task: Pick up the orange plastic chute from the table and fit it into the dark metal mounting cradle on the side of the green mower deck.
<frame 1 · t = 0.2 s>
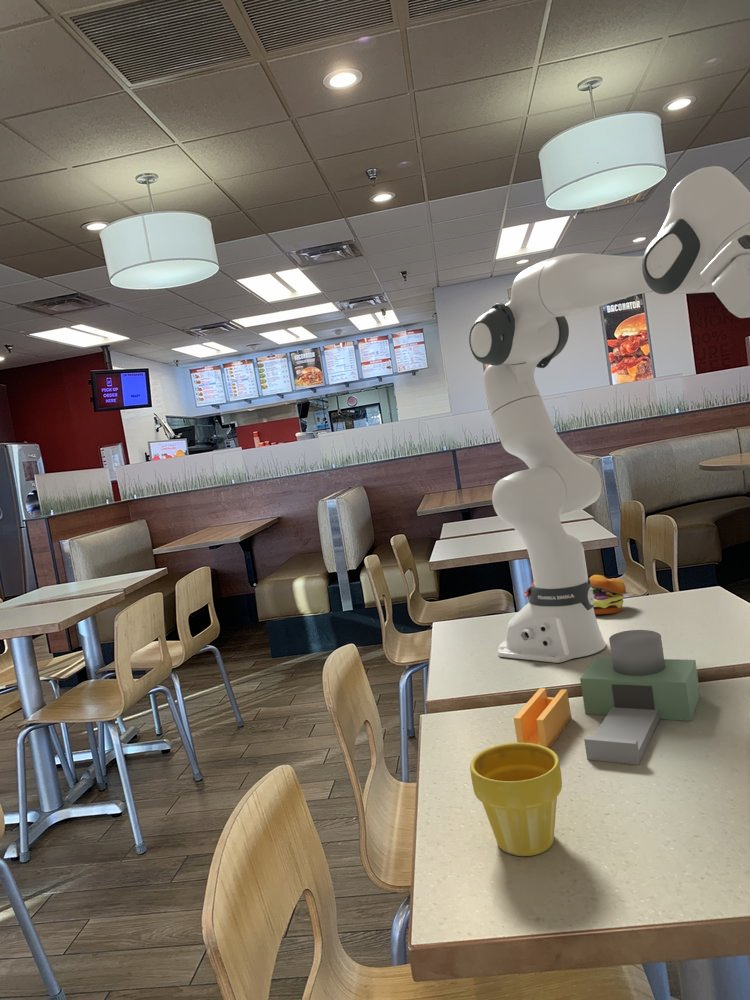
cheeseburger: (604, 611, 170), on the table
mower deck: (642, 704, 114), on the table
chute: (546, 733, 109), on the table
plant pot: (526, 841, 82), on the table
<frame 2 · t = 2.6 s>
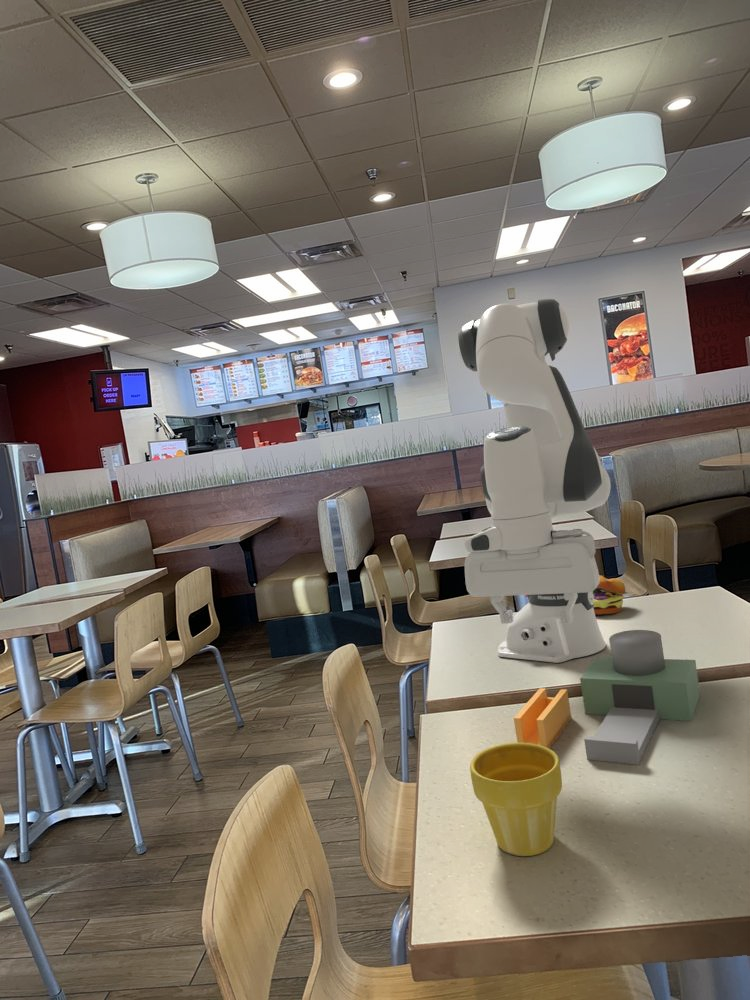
hand: (536, 622, 107), 18 cm above the table, fingers open, 8 cm apart
nothing on the table moved.
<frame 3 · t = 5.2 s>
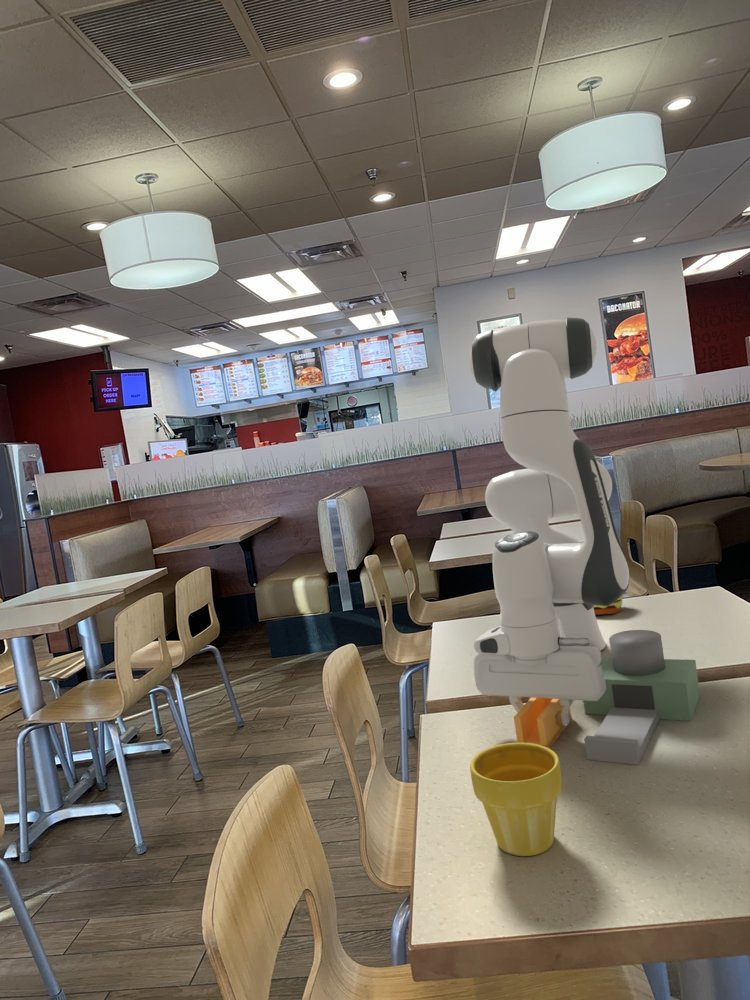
hand: (544, 722, 109), 2 cm above the table, fingers closed on chute, 5 cm apart
chute: (545, 733, 109), on the table, touching gripper
everything else where it was.
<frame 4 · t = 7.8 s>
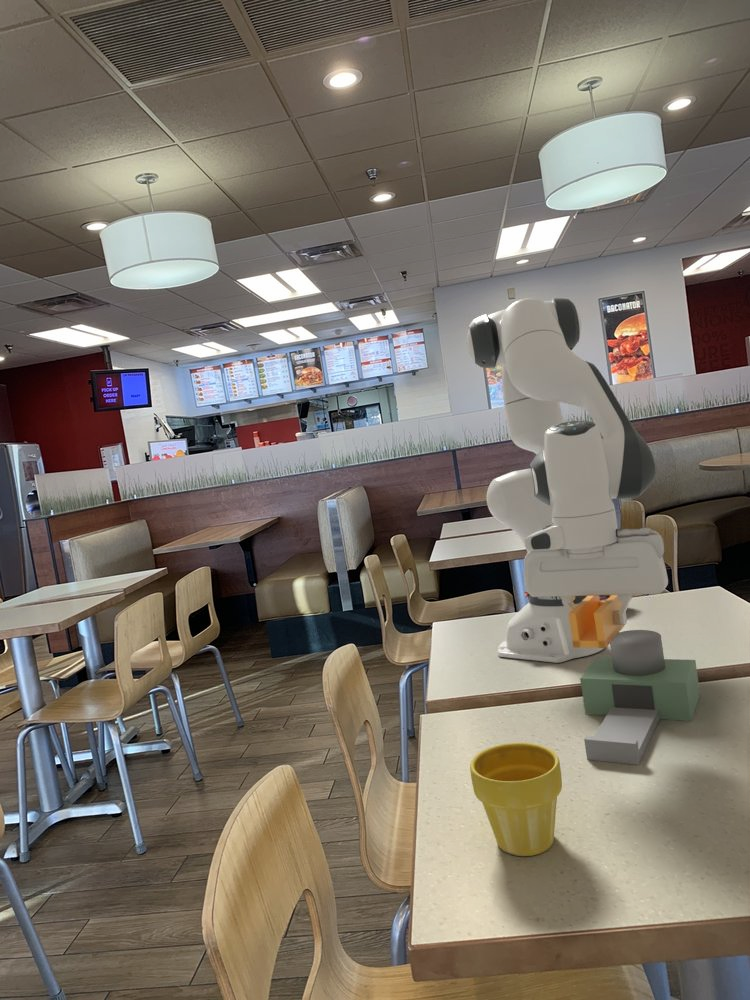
hand: (599, 623, 103), 17 cm above the table, fingers closed on chute, 5 cm apart
chute: (601, 634, 103), point 16 cm above the table, touching gripper
everything else where it was.
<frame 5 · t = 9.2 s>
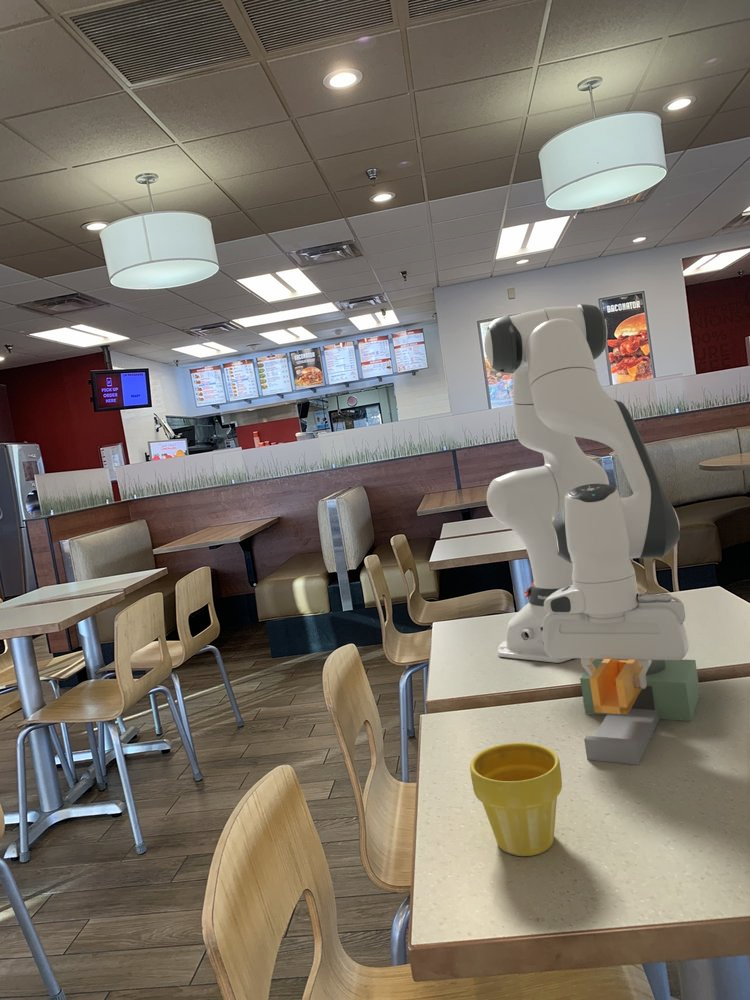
hand: (619, 686, 103), 8 cm above the table, fingers closed on chute, 5 cm apart
chute: (620, 697, 103), point 6 cm above the table, touching gripper
everything else where it was.
when the fingers open (4 cm above the table, at t = 10.3 s): chute stays where it is, resting on mower deck.
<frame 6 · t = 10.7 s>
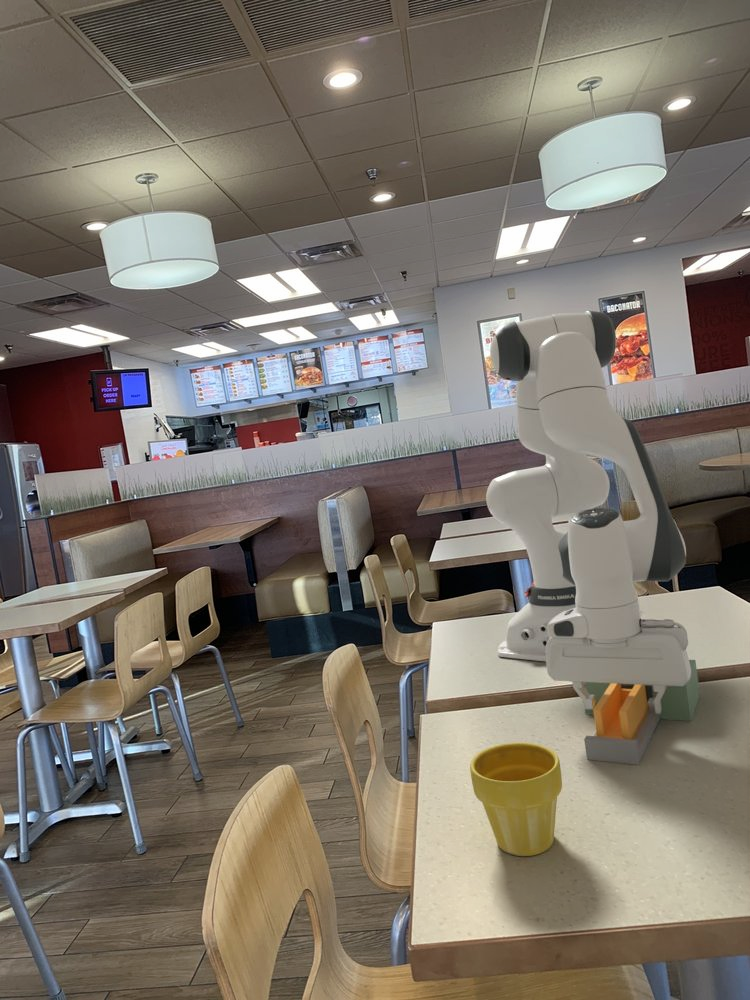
hand: (621, 710, 103), 4 cm above the table, fingers open, 8 cm apart
chute: (624, 726, 103), point 1 cm above the table, touching mower deck
everything else where it was.
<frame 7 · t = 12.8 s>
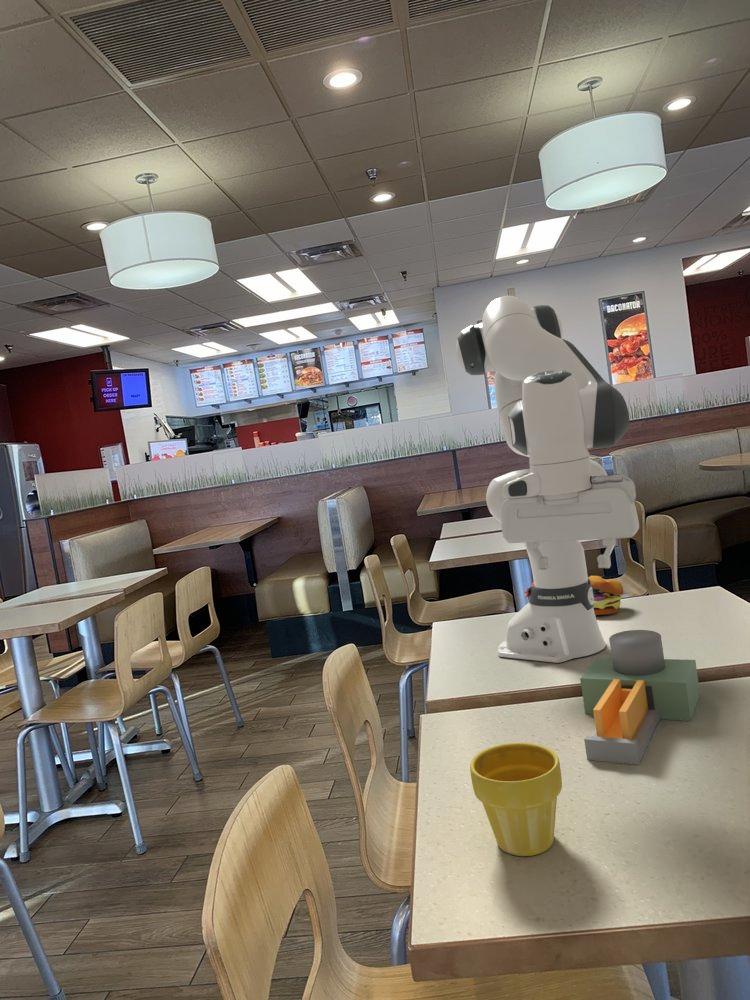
hand: (573, 568, 106), 25 cm above the table, fingers open, 8 cm apart
nothing on the table moved.
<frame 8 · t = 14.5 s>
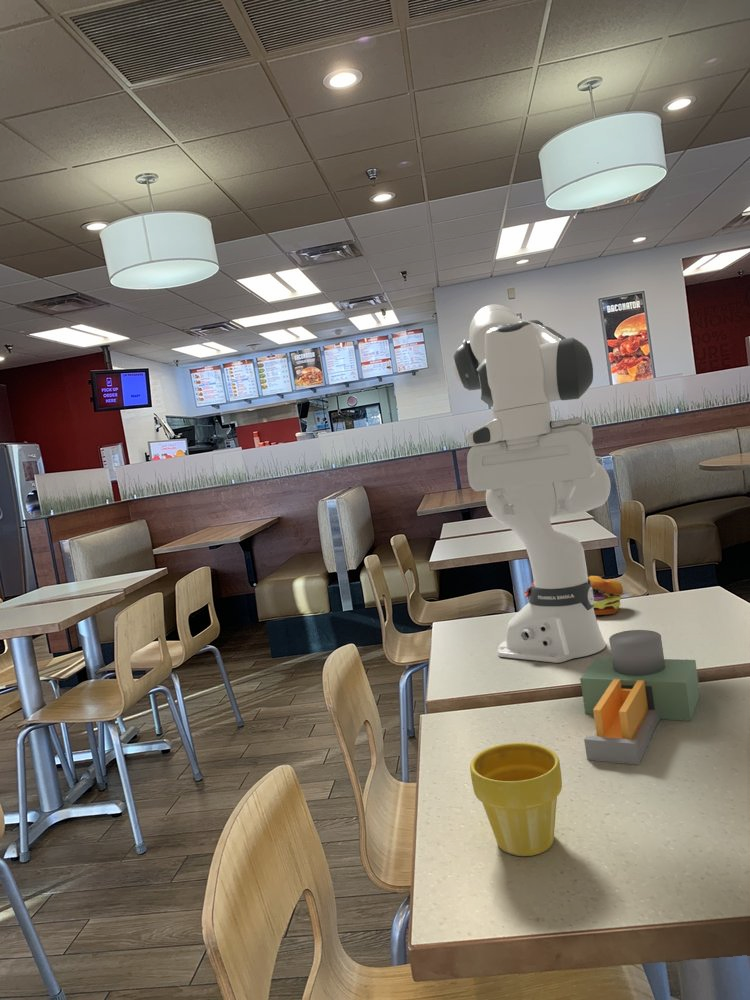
hand: (536, 513, 110), 34 cm above the table, fingers open, 8 cm apart
nothing on the table moved.
at the end: chute 0.0 cm from the target spot on the mower deck, point 1.5 cm above the mower deck's base; chute tilted 0°; the gripper is holding nothing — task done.
